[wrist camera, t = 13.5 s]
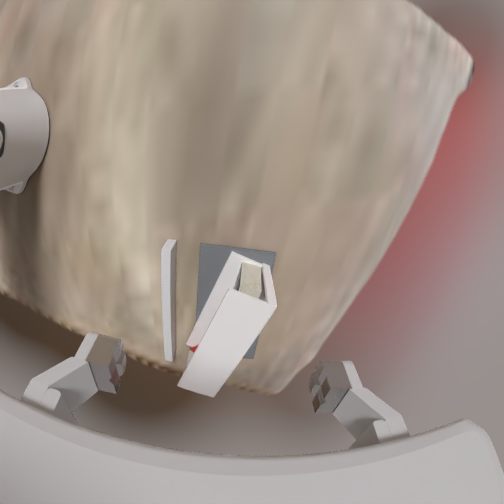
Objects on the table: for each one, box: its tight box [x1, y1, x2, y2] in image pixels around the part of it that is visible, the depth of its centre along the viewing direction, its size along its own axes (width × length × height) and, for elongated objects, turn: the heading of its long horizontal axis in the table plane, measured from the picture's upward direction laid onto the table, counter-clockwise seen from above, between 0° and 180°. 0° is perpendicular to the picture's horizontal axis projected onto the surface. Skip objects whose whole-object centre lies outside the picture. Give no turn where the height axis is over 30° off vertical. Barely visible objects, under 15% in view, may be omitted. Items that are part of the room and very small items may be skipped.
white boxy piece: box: [177, 251, 277, 397], centre depth 37 cm, size 20×6×9 cm, turn 154°
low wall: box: [161, 239, 177, 362], centre depth 39 cm, size 1×20×4 cm, turn 172°
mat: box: [196, 243, 276, 359], centre depth 41 cm, size 10×20×1 cm, turn 172°
